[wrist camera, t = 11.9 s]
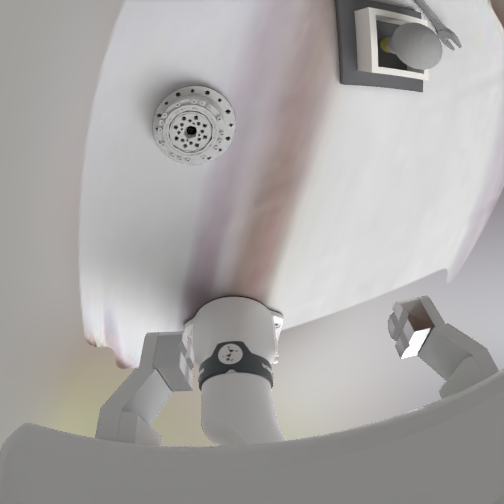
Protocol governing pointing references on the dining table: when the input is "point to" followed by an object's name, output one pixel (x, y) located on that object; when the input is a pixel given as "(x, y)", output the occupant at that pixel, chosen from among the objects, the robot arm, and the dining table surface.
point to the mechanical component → (194, 125)
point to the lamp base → (374, 45)
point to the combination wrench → (439, 26)
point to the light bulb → (414, 45)
